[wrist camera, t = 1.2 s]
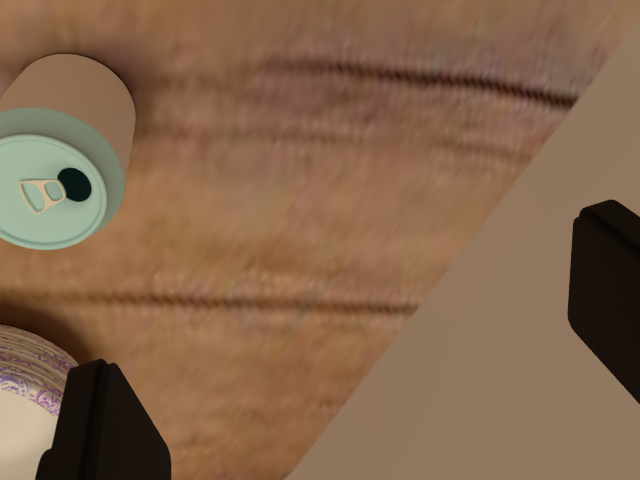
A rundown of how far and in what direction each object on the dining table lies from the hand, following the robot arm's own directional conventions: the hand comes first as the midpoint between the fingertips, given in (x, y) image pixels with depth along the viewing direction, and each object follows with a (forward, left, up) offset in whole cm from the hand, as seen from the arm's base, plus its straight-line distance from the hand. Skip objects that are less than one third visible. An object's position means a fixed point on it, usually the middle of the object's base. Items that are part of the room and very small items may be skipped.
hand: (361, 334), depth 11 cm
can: (+9, -7, -28) cm, 30 cm away
